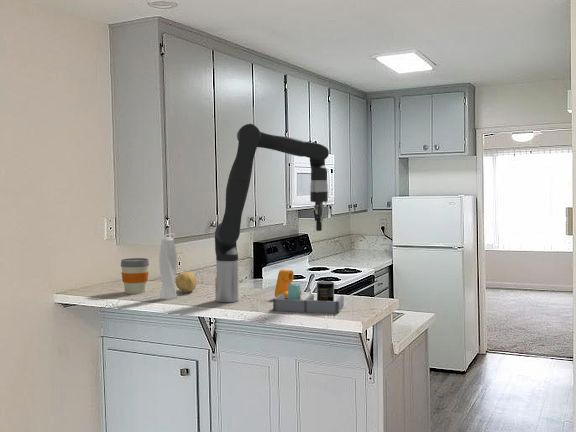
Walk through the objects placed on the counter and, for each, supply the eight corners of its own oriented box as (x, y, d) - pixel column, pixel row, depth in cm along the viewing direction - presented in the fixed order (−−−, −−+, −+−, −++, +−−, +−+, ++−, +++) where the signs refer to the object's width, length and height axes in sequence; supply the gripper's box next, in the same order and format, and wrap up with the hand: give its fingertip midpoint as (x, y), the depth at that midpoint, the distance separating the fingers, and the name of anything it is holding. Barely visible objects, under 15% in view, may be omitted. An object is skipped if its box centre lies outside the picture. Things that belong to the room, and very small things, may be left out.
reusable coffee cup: (153, 292, 283) (153, 260, 282) (126, 295, 276) (126, 261, 275) (143, 289, 293) (142, 257, 292) (117, 291, 286) (116, 259, 285)
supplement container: (335, 310, 242) (335, 283, 241) (317, 310, 242) (317, 283, 241) (332, 306, 249) (332, 281, 248) (316, 307, 248) (316, 281, 248)
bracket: (288, 300, 264) (288, 272, 263) (274, 298, 268) (274, 270, 267) (302, 296, 273) (302, 269, 272) (288, 295, 277) (288, 268, 276)
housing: (281, 303, 255) (281, 282, 255) (343, 306, 249) (343, 284, 249) (273, 310, 241) (273, 287, 241) (338, 313, 236) (338, 289, 235)
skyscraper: (169, 295, 274) (168, 232, 273) (181, 297, 270) (180, 233, 269) (155, 298, 268) (155, 233, 267) (168, 300, 264) (167, 234, 262)
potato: (169, 293, 281) (169, 272, 280) (186, 288, 294) (186, 268, 293) (188, 295, 277) (188, 273, 276) (205, 290, 290) (204, 269, 290)
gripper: (313, 190, 276) (313, 229, 277) (307, 191, 264) (307, 231, 264) (329, 190, 275) (329, 229, 276) (325, 191, 262) (325, 232, 263)
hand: (318, 230), depth 270 cm, fingers closed
